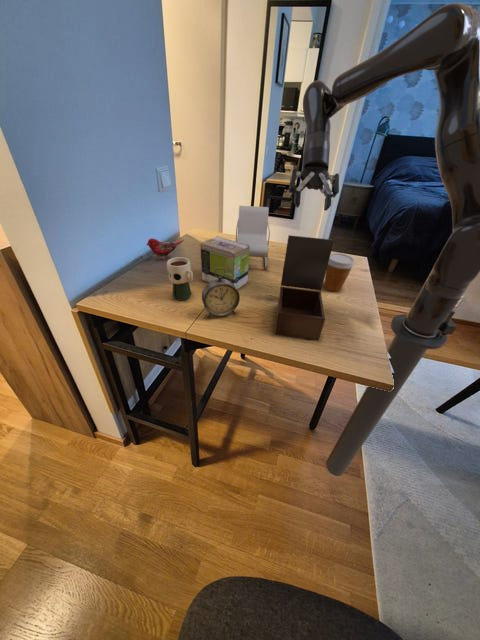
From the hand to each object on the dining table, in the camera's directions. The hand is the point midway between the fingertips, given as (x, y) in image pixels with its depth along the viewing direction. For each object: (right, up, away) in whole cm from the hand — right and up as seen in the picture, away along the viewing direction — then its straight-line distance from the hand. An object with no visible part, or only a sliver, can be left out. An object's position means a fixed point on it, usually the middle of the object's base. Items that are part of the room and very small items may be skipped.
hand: (312, 207), depth 76 cm
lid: (-2, -16, +1) cm, 17 cm away
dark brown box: (-4, -34, +5) cm, 34 cm away
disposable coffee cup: (+14, -21, +23) cm, 34 cm away
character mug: (-41, -25, +13) cm, 50 cm away
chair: (-16, -5, +40) cm, 44 cm away
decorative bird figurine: (-53, -6, +37) cm, 65 cm away
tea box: (-27, -18, +23) cm, 40 cm away
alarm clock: (-28, -31, +6) cm, 42 cm away
